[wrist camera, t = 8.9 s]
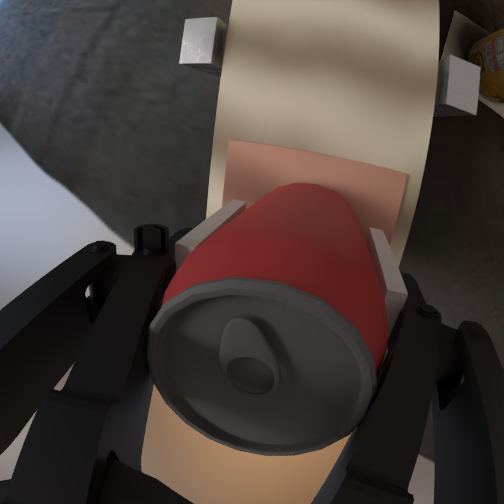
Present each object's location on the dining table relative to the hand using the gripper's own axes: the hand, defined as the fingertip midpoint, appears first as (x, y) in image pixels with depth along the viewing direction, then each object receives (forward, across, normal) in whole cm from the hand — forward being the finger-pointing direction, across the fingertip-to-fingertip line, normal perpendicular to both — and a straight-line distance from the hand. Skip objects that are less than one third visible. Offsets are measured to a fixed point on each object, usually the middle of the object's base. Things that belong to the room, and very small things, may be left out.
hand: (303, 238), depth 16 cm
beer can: (+1, 0, 0) cm, 2 cm away
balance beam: (+3, 0, +10) cm, 11 cm away
